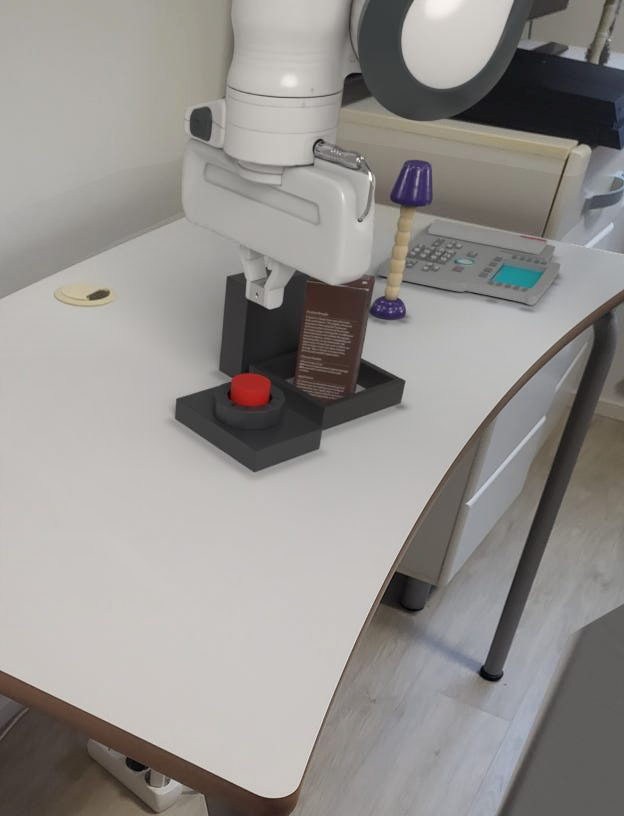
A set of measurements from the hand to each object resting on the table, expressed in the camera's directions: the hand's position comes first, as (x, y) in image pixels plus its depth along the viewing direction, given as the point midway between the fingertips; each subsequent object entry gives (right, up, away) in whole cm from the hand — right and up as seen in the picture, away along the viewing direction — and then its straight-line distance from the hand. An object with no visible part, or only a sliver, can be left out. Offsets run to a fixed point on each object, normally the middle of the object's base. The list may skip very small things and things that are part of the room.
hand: (263, 303), depth 84 cm
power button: (-1, -7, +6) cm, 9 cm away
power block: (-1, -10, +8) cm, 13 cm away
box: (+8, -4, +15) cm, 18 cm away
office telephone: (+34, +20, +45) cm, 60 cm away
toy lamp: (+19, +10, +32) cm, 39 cm away
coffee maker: (+7, -3, +16) cm, 18 cm away
